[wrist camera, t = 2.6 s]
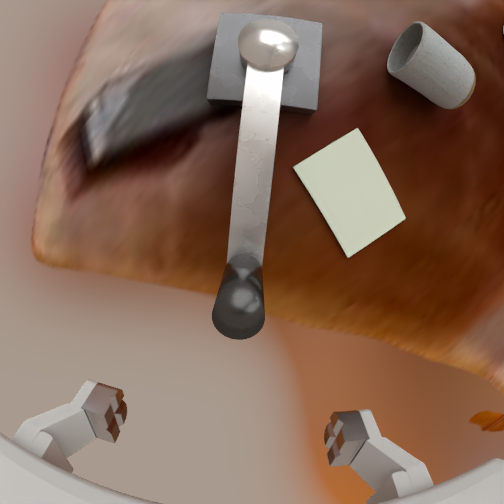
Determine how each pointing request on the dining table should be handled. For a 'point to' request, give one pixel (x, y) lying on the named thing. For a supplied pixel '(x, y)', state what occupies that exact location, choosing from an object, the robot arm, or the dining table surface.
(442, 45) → the ceramic mug
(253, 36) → the lever arm
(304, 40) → the lever base
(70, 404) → the robot arm
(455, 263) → the dining table surface
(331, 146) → the mat
